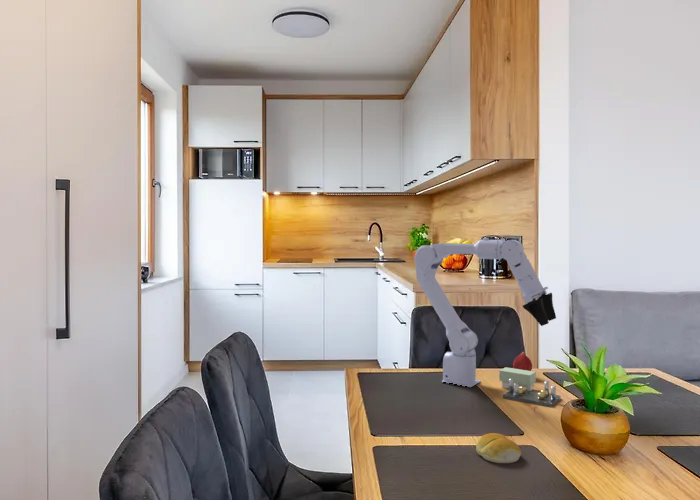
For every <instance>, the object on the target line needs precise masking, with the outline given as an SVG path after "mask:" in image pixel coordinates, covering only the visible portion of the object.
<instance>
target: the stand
mask: <svg viewBox="0 0 700 500" xmlns="http://www.w3.org/2000/svg"><path fill="white" fill-rule="evenodd" d="M519 386H524V387H526V390H530V391H533V390H534V383H533V384H532V385H531V386H528V385H522V384H519V385H518V388H519ZM501 388H506V389H509V382H505V381H501ZM513 388H514V383H513Z"/></svg>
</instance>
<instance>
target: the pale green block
mask: <svg viewBox="0 0 700 500" xmlns="http://www.w3.org/2000/svg"><path fill="white" fill-rule="evenodd" d="M536 375H537V374H536V371H533V370H531V371H527V370H520V369H514V368H513V367H508V366H507V367H505V366H504V368H501V369H499V376H498V377H499V382H502V381H505V382H509V379H513V383H517V384H522V385H528V386H531V385H532V384H533V385H534V384H535V383H536V382H537V380H536V379H537V377H536Z"/></svg>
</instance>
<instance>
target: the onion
mask: <svg viewBox="0 0 700 500" xmlns="http://www.w3.org/2000/svg"><path fill="white" fill-rule="evenodd" d="M512 368H514V369H520V370H527V371H533V363H532V360H531V359H530V358H529V357H528V356H527V355H526V352H525V351H522V352H521V353H520V354H519V355H516V357H514V359H513V362H512Z"/></svg>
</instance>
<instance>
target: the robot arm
mask: <svg viewBox="0 0 700 500" xmlns="http://www.w3.org/2000/svg"><path fill="white" fill-rule="evenodd" d="M451 255H475V256H476V257H477V258H478V259H480V260H482V259H483V260H502V259H504V260H505V261H506V262H507V264H508V267H509V270H510V272H511V273H512V276H513V277H514V280H515V282H516V283H517V285H518V287H519V288H520V291H521V293H522V295H523V297H522V299H523V301H524V303H525V304H522V308H523V309H524V310H526V311H527V312H528V313H529V314H530V315H532V317H533V318H534V319H535V320H536V321H537V322H538V324H539V325H540V326H541V327H543V326H545V325H548V324H549V322H550V321H553V320H555V319H557V316H556V312H555V308H554V304H553V303H554V302H553V293H552V292H549V293H548V292H547V290H548V289H549V288H548V287H549V286H543V285H542V283H541V281H540V279H539V277H538V275H537V273H536V272H535V271H536V270H535V269H534V268H533V266H532V264H531V262H530V260H529V259H528V257H527V254H526V253H525V247H524V245H523V243H522V242H520V241H519V240H515V239H508V240H506V238H500V239H490V238H489V237H483V238H482V239H479V240H478V241H477V242H476V243H460V242H459V243H457V242H453V243H452V242H441V243H435V244H430V245H428V244H427V245H425V244H424V245H421V246H419V247H418V248H417V250H416V251H415V254H414V257H413V260H414V263H415V273H416V274H415V275H416V276H415V277H416V280H417V282H418V284H419V286H420V287H421V289H422V292H423V293H424V294H425V295H426V298H427V299H428V300H429V303H430V304H431V306H432V308H433V309H434V312H435V313H436V314H437V315H438V317H439V320H440V321H441V323H442V324H443V326H444V328H445V335H446V338H447V339H448V342H449V343H448V345H449V348H450V350H451V351H446V352H445V353H444V355H443V357H442V358H443V359H442V380H441V383H443V382H446V383H445V384H449V383H453V384H452V385H454V384H457V385H456V386H460V385H462V386H461V387H465V386H467V388H472V387H474V386H475V385H477V384H479V383H481V382H482V381H481V379H476V378H477V377H476V376H477V374H476V373H477V371H476V370H477V367H476V366H477V363H476V362H477V353H476V350H475V348H476V347H477V346H478V343H479V338H478V336H477V334H476V333H475V332H474V331H473V330H471V329H470V327H468V325H467V324H466V323H465V322H464V321H463V320H461V318H460V317H459V315H458V313H457V312H456V310H455V308H454V307H453V305H452V303H451V302H450V300H449V298H448V297H447V295H446V293H445V292H444V290H443V288H442V286H440V284H439V281H438V280H437V279H436V274H437V271H438V268H439V267H440V266H441V264H442V263H443V260H444V259H445V258H446V259H447V258H448V257H449V256H451Z"/></svg>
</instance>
